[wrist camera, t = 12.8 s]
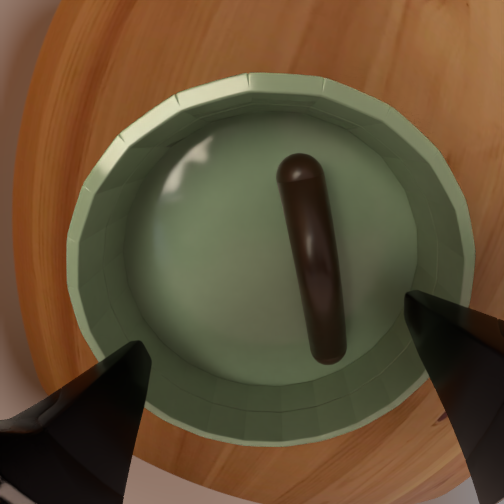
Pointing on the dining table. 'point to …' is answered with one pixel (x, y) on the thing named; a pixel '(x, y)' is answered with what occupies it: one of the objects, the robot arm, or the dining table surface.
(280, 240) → the bowl
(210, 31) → the dining table surface
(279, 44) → the dining table surface
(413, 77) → the dining table surface
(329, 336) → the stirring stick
